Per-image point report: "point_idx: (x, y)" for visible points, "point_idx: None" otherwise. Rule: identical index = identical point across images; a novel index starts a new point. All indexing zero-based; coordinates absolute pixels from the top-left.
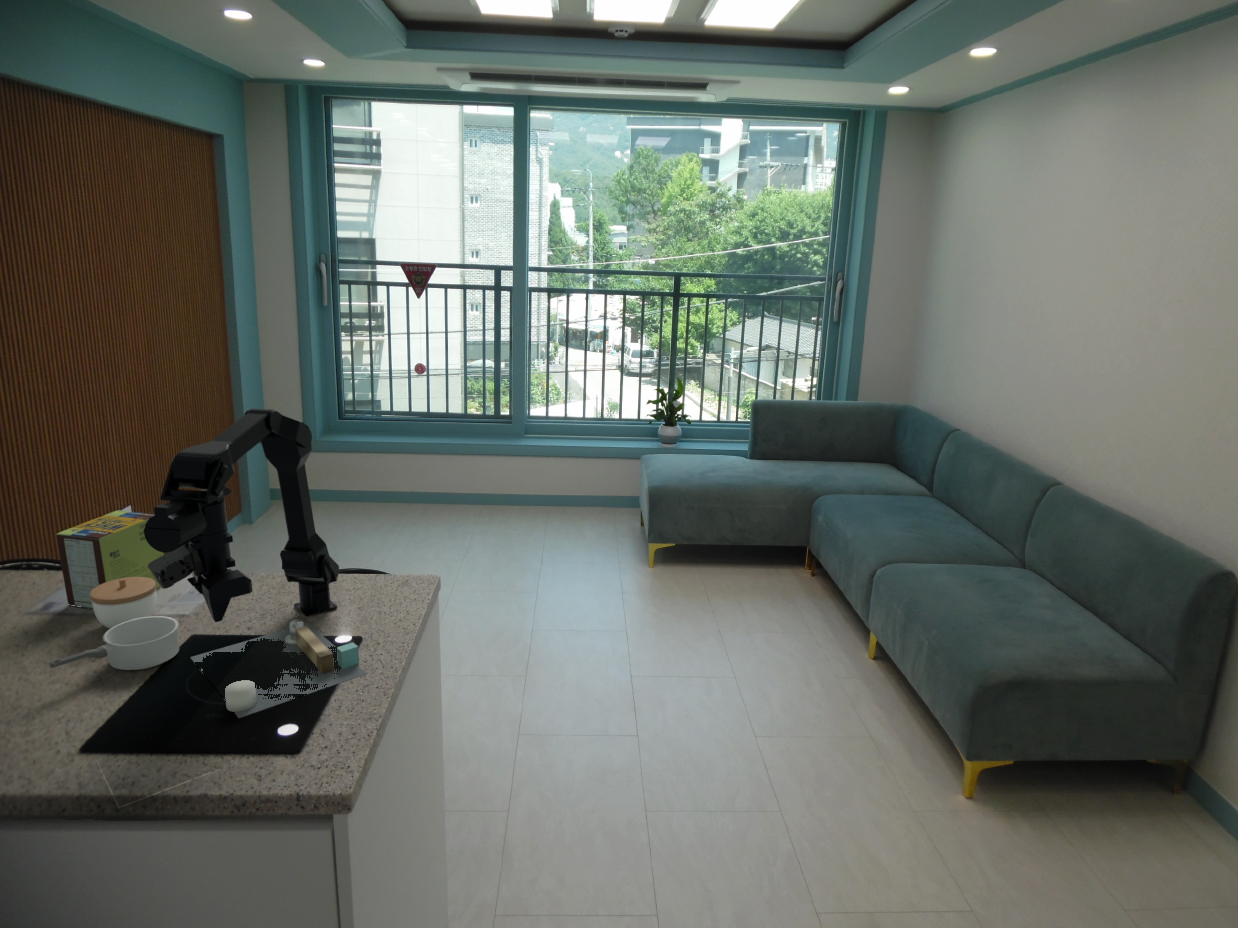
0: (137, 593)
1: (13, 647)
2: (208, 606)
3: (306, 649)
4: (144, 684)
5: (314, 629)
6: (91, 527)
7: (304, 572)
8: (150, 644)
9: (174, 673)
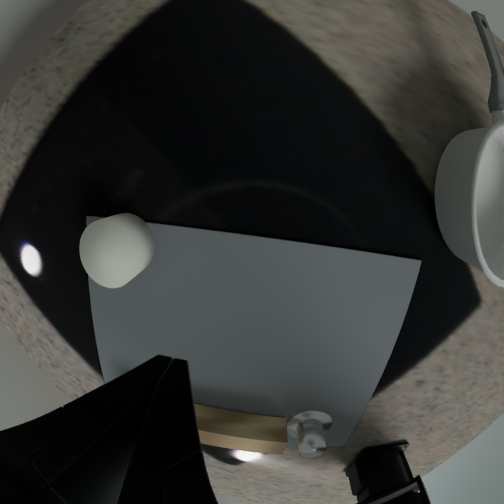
0: None
1: None
2: (154, 417)
3: (222, 419)
4: (385, 133)
5: None
6: None
7: None
8: (470, 184)
9: (386, 202)
